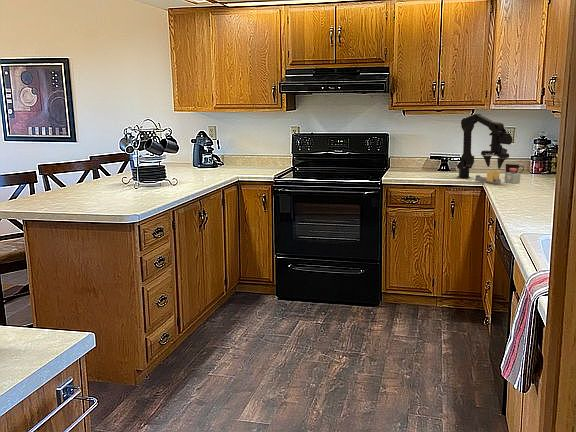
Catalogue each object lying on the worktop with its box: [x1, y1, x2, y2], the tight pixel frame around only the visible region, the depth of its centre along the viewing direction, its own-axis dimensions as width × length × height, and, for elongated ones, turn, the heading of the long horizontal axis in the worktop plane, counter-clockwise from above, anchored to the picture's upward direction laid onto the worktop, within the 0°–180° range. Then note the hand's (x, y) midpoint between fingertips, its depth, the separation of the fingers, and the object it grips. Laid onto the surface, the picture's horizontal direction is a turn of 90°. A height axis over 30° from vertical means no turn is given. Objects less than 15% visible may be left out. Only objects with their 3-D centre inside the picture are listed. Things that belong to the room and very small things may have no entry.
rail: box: [475, 174, 502, 185], centre depth 380 cm, size 19×3×3 cm, turn 26°
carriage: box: [486, 169, 501, 182], centre depth 376 cm, size 5×6×6 cm
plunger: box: [510, 168, 517, 174], centre depth 379 cm, size 4×4×6 cm
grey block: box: [504, 172, 521, 184], centre depth 380 cm, size 7×6×6 cm
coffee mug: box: [505, 162, 525, 174], centre depth 396 cm, size 12×9×10 cm
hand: (493, 167), depth 375 cm, fingers open, 9 cm apart
